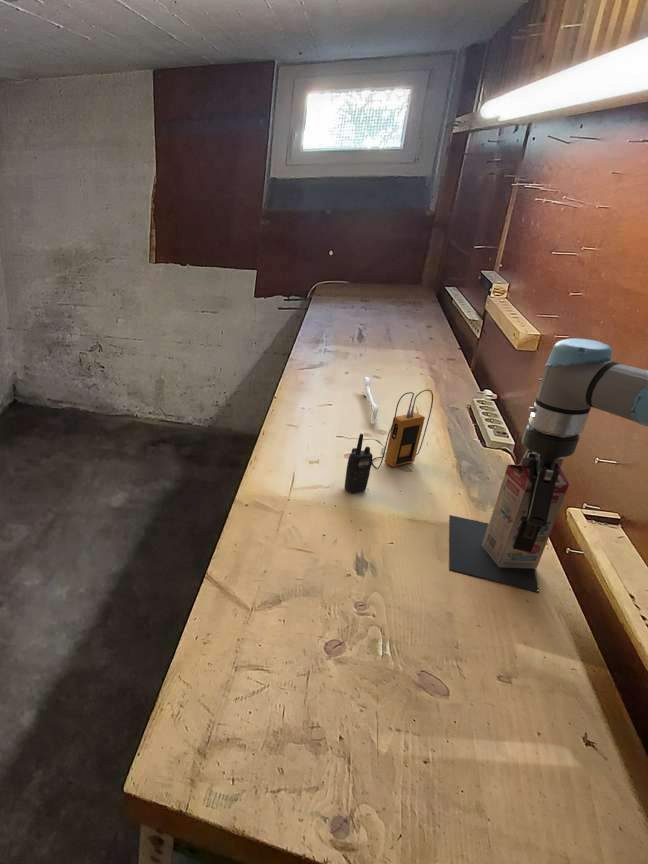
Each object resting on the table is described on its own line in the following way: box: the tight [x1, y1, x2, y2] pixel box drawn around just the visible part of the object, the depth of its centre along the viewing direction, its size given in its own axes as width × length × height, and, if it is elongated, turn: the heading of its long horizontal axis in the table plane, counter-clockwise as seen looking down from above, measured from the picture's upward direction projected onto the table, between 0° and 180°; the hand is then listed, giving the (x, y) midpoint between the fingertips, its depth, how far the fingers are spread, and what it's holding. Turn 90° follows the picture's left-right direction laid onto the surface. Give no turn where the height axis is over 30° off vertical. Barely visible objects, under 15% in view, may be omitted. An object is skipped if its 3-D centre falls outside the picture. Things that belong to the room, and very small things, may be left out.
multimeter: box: [371, 389, 434, 470], centre depth 142 cm, size 15×10×20 cm
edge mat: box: [448, 514, 540, 593], centre depth 111 cm, size 14×20×1 cm
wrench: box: [362, 377, 379, 425], centre depth 172 cm, size 28×2×6 cm, turn 164°
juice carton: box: [482, 456, 570, 570], centre depth 104 cm, size 7×7×22 cm
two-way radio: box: [344, 433, 374, 493], centre depth 130 cm, size 6×4×15 cm
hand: (518, 529), depth 106 cm, fingers open, 13 cm apart
